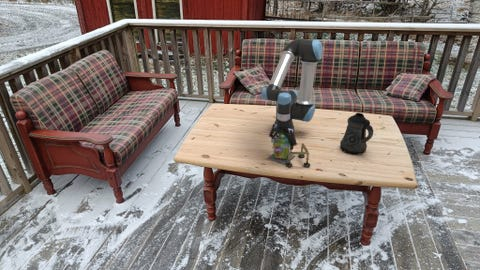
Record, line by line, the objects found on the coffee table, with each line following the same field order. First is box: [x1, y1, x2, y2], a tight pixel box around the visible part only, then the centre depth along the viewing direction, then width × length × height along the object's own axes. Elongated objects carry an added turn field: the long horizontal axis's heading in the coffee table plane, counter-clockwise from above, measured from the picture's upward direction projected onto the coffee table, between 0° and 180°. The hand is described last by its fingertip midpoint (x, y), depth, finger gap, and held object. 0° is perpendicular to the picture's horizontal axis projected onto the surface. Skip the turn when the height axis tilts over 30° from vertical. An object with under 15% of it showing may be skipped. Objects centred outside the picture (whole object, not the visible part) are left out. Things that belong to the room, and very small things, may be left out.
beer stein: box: [339, 112, 374, 156], centre depth 213 cm, size 16×19×25 cm
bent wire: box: [285, 143, 311, 169], centre depth 202 cm, size 12×18×10 cm, turn 139°
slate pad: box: [267, 152, 296, 166], centre depth 211 cm, size 12×12×1 cm
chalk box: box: [273, 133, 290, 159], centre depth 207 cm, size 9×9×15 cm
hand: (281, 150), depth 208 cm, fingers closed on chalk box, 11 cm apart
